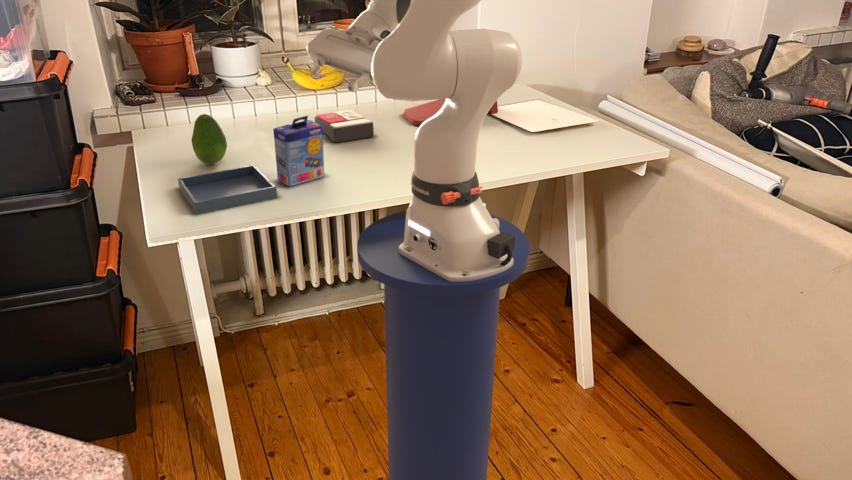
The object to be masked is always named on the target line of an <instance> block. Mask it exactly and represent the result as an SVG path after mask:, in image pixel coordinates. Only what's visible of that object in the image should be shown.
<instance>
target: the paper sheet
mask: <svg viewBox="0 0 852 480" xmlns="http://www.w3.org/2000/svg"><path fill="white" fill-rule="evenodd" d="M488 114H489V115H491V116H493V117H496V118H498V119H501V120H503V121H506V122H507V123H510V124H512V125H514V126H517V127H519V128H521V129H524V130H526V131H528V132H531V133H536V132H541V131H547V130H555V129H561V128H567V127H571V126H573V127H574V126H578V125H584V124H590V123H595V122H600V120H599V119H595V118H593V117H590V116H586V115H583V114H581V113H578V112H575V111H572V110H569V109H566V108H565V107H564V108H563V107H560V106H558V105H554V104H552V103H549V102H545V101H543V100H540V99H535V100H530V101H523V102H517V103H512V104H506V105H500V106H498V113H495V114H490V113H488Z"/></svg>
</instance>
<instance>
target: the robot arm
mask: <svg viewBox="0 0 852 480" xmlns="http://www.w3.org/2000/svg"><path fill="white" fill-rule="evenodd" d="M481 1H482V0H370V2H369V4H368V7H367V9H366V10H364V11H362V12H361V13H360V14H359V16H357V17H356V19H354V21H353V22H352V23H351V24H350V26H349V27H348V28H347V30H346V29H341V28H339V27H336V26H331V27H325V28H324V29H322V30H321V31H320V32H319V33H317V34H316V35H315V36H314V37H312V39H311V40H310V41H309V42H308V43H307V44H306V51H307V55H308V57H309V60H311V61H313V62H314V63H313V65H314V66H313V67H312V68H311V69H310V77H312V78H315V79H317V80H318V79H319V78H320V77H321V76H322V75H323V72H322V70H321V68H324V66H327V67H330V68H332V69H335V70H337V71H340V72H343V73H346V74H348V75H351V76H354V77H356V78H357V79H351V80H350V82H349V83H348V84H347V88H348V89H347V90H348V91H349V92H351V93H357V92H358V90H359V89H361V88H363V87H365V86H367V85H370V83H373V84H374V85H375V87H376V89H377V91H378V92H379V93H380V94H381V95H382V96H383V97H384V98H385V99H388V100H389V99H390V100H394V101H395V100H396V101H402V102H403V101H404V102H411V103H413V102H422V101H435V100H439V99H446V101H445V103H444V105H443V106H442V108H441V109H440V110H439V111H438V112H437V113H436V114H435V115H434V116H432V117H430V118H429V119H427V120H426V121H424V122H423V123H422V124H421V125H420V126H419V127H418V128H417V130H416V132H415V134H414V138H413V141H414V142H413V149H414V150H413V171H412V172H411V178H410V186H411V193H412V197H411V199H410V203H409V205H408V207H407V209H406V210H405V211H406V221H405V233H404V242H403V243H402V244H401V245H400V246H399V251H398V252H399V253H400V254H401V255H403V256H405V257H406V258H408V259H410V260H412V261H414V262H415V263H417V264H419V265H421V266H422V267H424V268H426V269H428V270H430V271H431V272H433V273H435V274H437V275H438V276H440V277H442V278H444V279H446V280H448V281H450V282H466V281H473V280H478V279H483V278H487V277H490V276H493V275H496V274H499V273H502V272H504V271H506V270H507V269H509V268H510V267H511V266H512V265H513V264H514V260H513V258H512V251H513V250H514V247H515V235H513V234H510V233H508V232H505V231H503V232H501V233H500V231H499V227H500V224H499V220H498V219H497V218H493V219H492V217H491V216H490V212H489V210H488V209H487V206H486V203H484V202H483V201H482V198H481V193H483V192H484V191H482V189H483V186H480V181H479V178H478V173H477V171H476V162H477V150H478V142H479V136H480V131H481V129H482V125H483V123H484V121H485V119H486V117H487V115H488V114H489V113H488V112H489V110H490V108H491V107H492V106H493V104H494V103H495V102H496V101H497V102H498V99H500V98H501V96H503V95H504V94H505V93H506V92H507V91H509V89H511V88H512V87H513V86H514V85H515V83H516V82H517V81H518V78H519V76H520V74H521V71H522V65H523V56H522V55H523V54H522V51H521V47H520V45H519V43H518V41H517V40H516V38H515V37H514V36H513V35H512V34H511V33H510V32H507V31H501V30H497V29H488V28H473V29H471V28H470V29H458V30H452V28H453V26H454V24H455V23H456V21H457V20H458V19H459V18H460V17H461V16H462V15H464V14H465V13H466V12H468V11H470V10H471V9H473V8H474V7H476V6H477V5H479V3H480V2H481Z"/></svg>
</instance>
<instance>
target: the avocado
mask: <svg viewBox="0 0 852 480" xmlns="http://www.w3.org/2000/svg"><path fill="white" fill-rule="evenodd" d="M191 145H192V150H193V152H194V154H195V156H196V158H197V159H198V161H200V162H201V163H203V164H204V165H213V164H216V163H219V162H220V161H222V159H223V158H224V157H225V155H226V152H227V148H228V141H227V137H226V135H225V133H224V131H223V129H222V128H221V126H220V124H219V122H217V120H216V119H215V118H214V117H213V116H212V115H210V114H207V113H203V114H200V115H199V116H198V117H197V118H196V119H195V121H194V125H193V131H192V136H191Z"/></svg>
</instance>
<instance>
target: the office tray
mask: <svg viewBox="0 0 852 480" xmlns="http://www.w3.org/2000/svg"><path fill="white" fill-rule="evenodd" d="M177 182H178V188H179V191H180V192H181V194H182V195H183V197H184V198H185V200H186V201H187V203H188V204H189V206H190V207H191V208H192V210H193V211H194V213H195V214H196V215H200V214H205V213H210V212H216V211H220V210H225V209H230V208H235V207H239V206H245V205H248V204H254V203H259V202H263V201H268V200H273V199H278V190H277V186H276V185H275V184H274V183H273V182H272V181H271V180H270V179H269V178H268V177H267V176H266V175H265V174H264V173H263V172H262V171H261V170H260V169H259V168H258V167H257V166H256V165H255V164H250V165H246V166H240V167H234V168H230V169H223V170H219V171H218V170H217V171H212V172H207V173H202V174H195V175H191V176H184V177H180V178H179V177H178V178H177Z"/></svg>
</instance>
